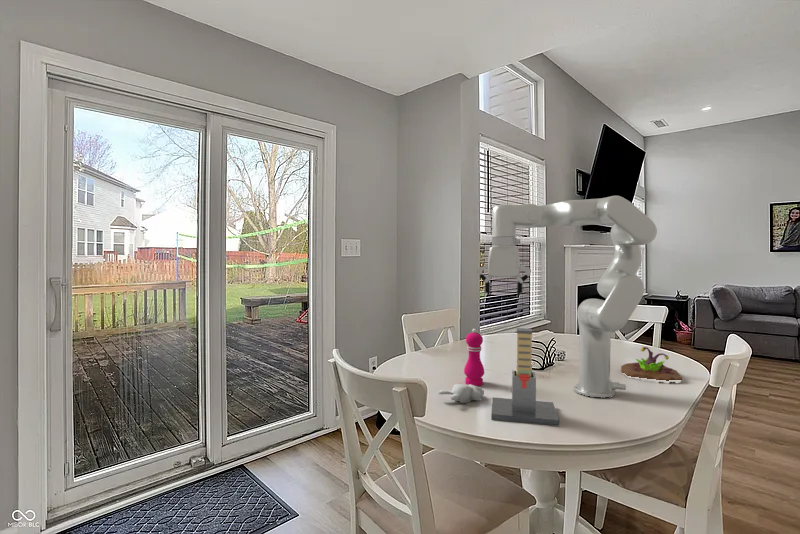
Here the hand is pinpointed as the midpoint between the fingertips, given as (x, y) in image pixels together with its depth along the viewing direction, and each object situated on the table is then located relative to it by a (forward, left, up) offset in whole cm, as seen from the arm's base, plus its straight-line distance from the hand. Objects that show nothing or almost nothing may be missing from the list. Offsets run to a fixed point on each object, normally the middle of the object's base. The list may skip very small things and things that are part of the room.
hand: (503, 294), depth 139 cm
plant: (-55, -36, -34) cm, 74 cm away
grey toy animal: (+12, +9, -34) cm, 37 cm away
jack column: (-6, +15, -25) cm, 30 cm away
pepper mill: (+10, -10, -34) cm, 36 cm away
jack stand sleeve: (-6, +15, -33) cm, 37 cm away
